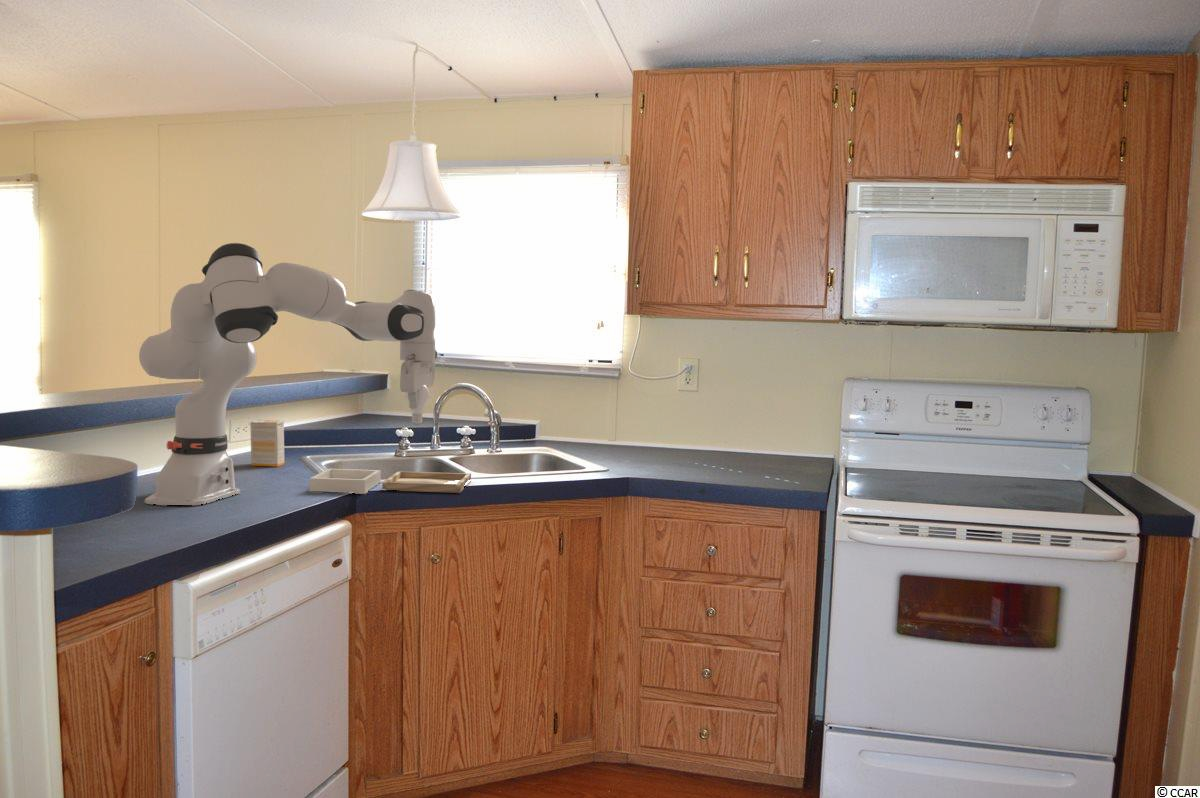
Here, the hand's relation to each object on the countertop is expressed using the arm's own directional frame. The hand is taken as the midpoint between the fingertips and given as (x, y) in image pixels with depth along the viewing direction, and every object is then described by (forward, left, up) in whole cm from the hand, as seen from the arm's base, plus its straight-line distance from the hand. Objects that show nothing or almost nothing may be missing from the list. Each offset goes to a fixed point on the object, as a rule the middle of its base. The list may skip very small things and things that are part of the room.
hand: (417, 406), depth 225 cm
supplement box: (+24, +50, -21) cm, 59 cm away
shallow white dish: (-4, +18, -21) cm, 28 cm away
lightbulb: (0, 0, -5) cm, 5 cm away
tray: (+2, -2, -21) cm, 21 cm away
